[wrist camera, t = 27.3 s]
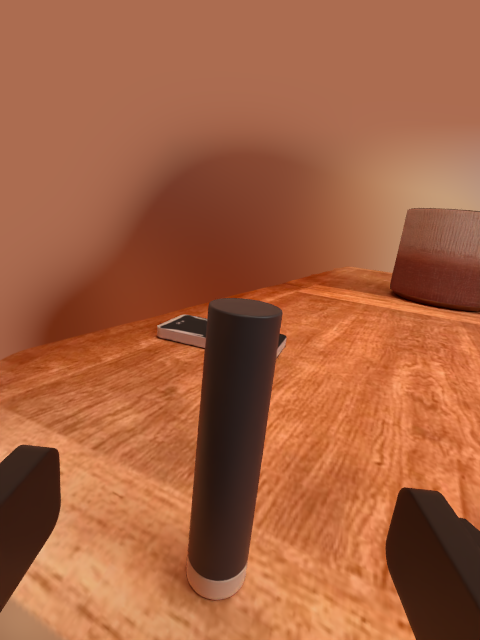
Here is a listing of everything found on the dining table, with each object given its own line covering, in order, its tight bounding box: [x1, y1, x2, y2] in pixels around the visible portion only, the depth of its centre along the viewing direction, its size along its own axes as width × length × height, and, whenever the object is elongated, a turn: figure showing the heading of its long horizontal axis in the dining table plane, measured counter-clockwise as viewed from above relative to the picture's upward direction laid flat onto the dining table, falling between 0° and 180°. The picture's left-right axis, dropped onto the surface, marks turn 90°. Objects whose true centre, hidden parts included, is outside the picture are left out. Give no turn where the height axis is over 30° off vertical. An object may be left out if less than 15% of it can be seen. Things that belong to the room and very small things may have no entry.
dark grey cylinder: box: [186, 298, 282, 600], centre depth 14 cm, size 3×3×12 cm
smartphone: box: [157, 315, 286, 358], centre depth 45 cm, size 8×1×15 cm
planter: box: [390, 208, 480, 311], centre depth 92 cm, size 25×25×22 cm
